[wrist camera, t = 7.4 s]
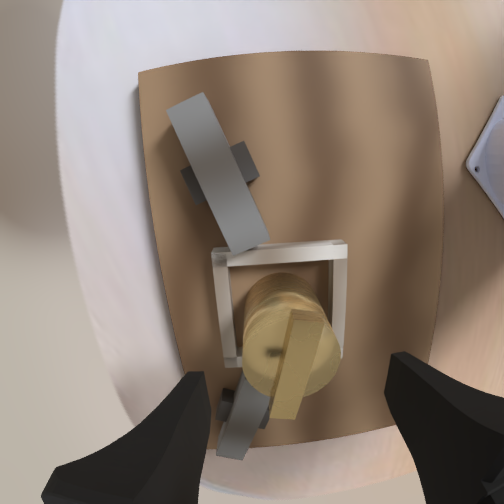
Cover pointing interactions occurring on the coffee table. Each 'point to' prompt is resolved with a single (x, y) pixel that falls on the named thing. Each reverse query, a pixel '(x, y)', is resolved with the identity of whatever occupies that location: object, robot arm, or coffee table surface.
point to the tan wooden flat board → (296, 221)
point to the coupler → (287, 342)
